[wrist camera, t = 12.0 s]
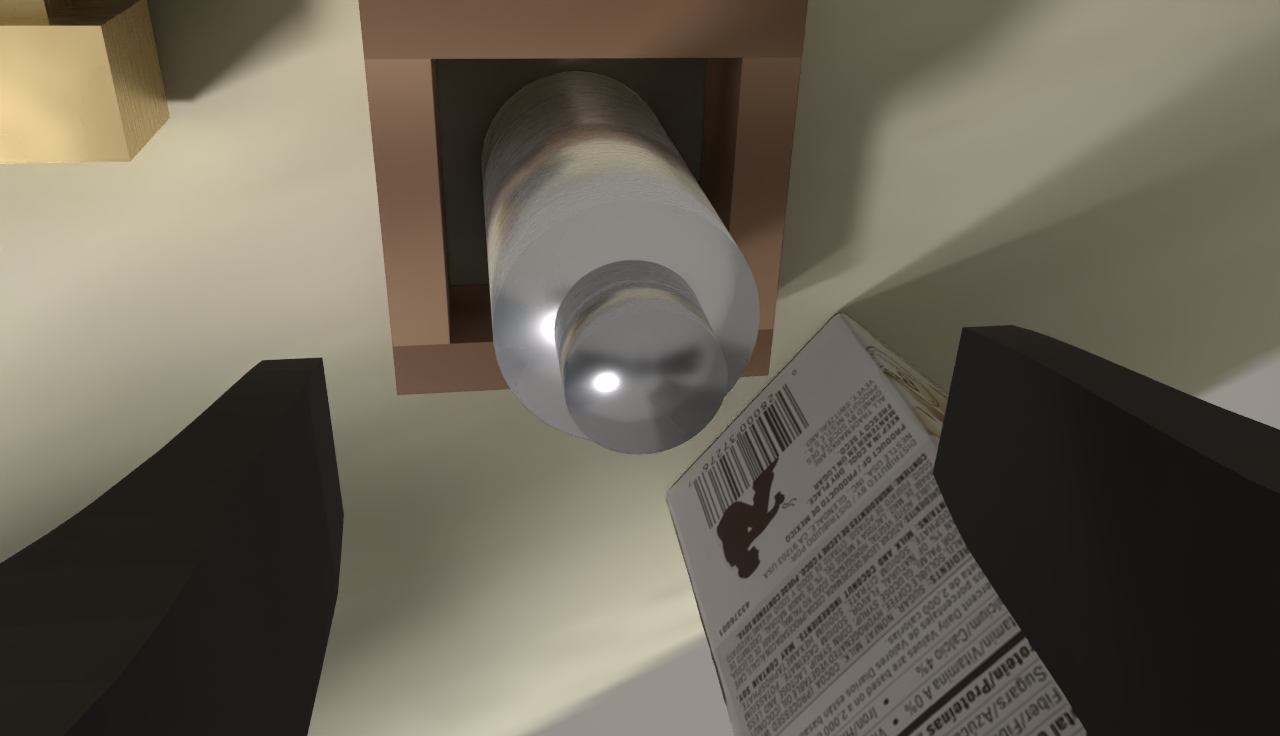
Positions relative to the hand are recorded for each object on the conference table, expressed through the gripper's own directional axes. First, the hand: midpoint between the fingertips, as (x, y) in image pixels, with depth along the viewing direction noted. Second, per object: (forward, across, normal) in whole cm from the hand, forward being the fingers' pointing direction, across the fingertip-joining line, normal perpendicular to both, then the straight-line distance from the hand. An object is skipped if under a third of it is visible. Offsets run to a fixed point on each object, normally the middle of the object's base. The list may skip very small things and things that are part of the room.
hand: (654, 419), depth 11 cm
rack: (+9, 0, 0) cm, 9 cm away
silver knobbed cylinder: (+9, 0, 0) cm, 9 cm away
